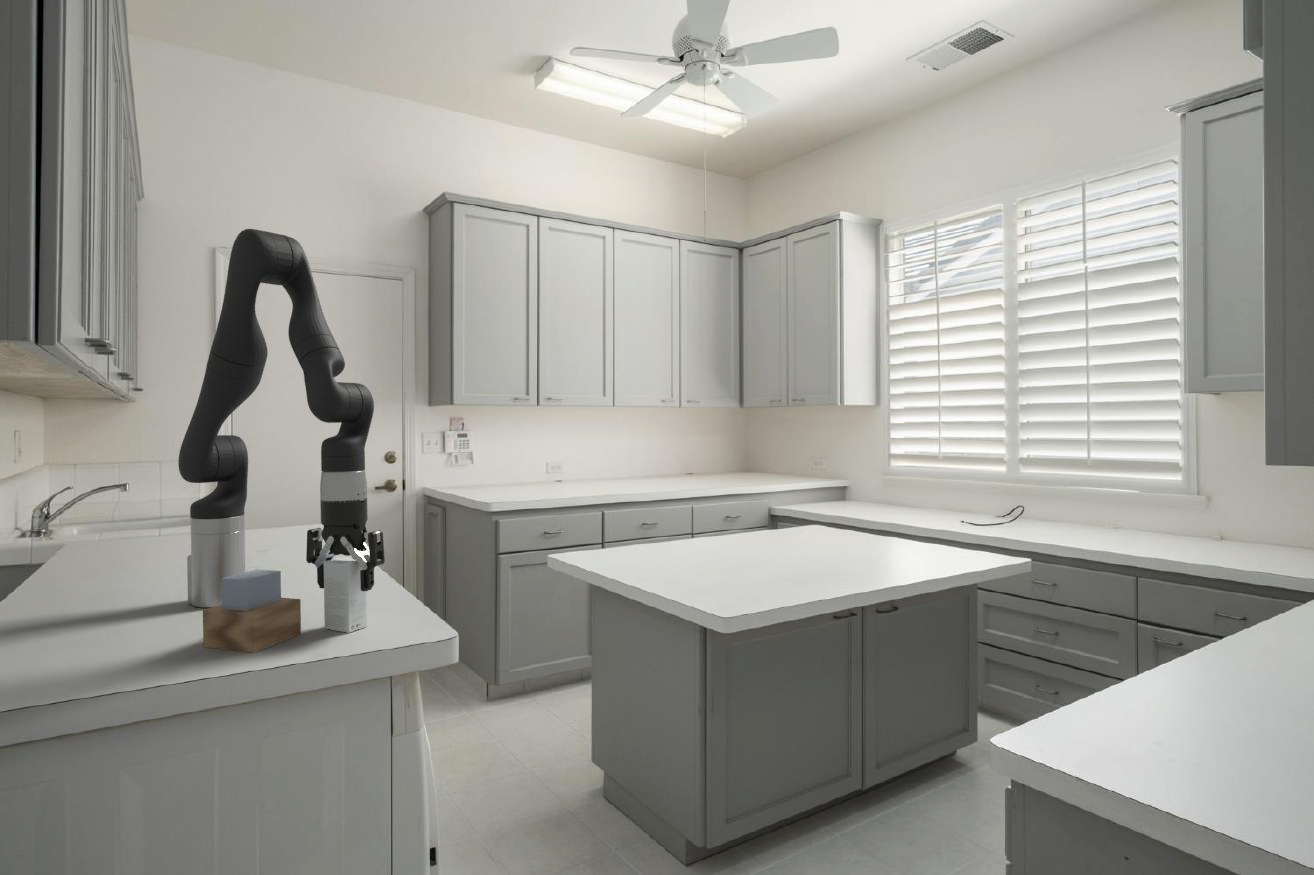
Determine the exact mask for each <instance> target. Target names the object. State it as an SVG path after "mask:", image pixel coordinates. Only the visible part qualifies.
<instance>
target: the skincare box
mask: <svg viewBox="0 0 1314 875" xmlns="http://www.w3.org/2000/svg"><path fill="white" fill-rule="evenodd" d="M360 570H363V569H362V568H361V567H360V565H359V564H358V562H357V561H356V560H354V559H353V558H350V557H338V558H333V559H332V560H328V561H324V588H323V604H324V605H323V609H324V611H323V613H324V615H323V617H324V629H325V630H328V629H330V630H329V631H335V632H341V633H346V634H348V633H349V634H350V633H352V632H356V631H359V630H361V629H365V628H367V627H368V620H367V619H368V614H367V613H368V612H367V611H368V610H367V605H368V604H367V591H361V580H360ZM358 629H359V630H358ZM355 630H356V631H355Z"/></svg>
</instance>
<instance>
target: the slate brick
mask: <svg viewBox="0 0 1314 875" xmlns="http://www.w3.org/2000/svg"><path fill="white" fill-rule="evenodd" d="M281 578H282V574H281V570H274V569H273V570H272V569H258V568H257V569H253V570H248V571H245V572H244V573H240V574H236V575H233V576H229V577H225V578H222V609H230V610H240V611H250V610H253V609H256V608H259V607H262V606H265V605H268V604H271V603H274V602H278V601H281V598H282V582H281V580H282V579H281Z"/></svg>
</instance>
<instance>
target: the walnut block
mask: <svg viewBox="0 0 1314 875" xmlns="http://www.w3.org/2000/svg"><path fill="white" fill-rule="evenodd" d="M301 604H302V603H301V599H300V598H289V597H281V601H278V602H274V603H271V604H268V605H265V606H262V607H259V608H256V609H253V610H250V611H240V610H230V609H222V605H218V606H215V607H207V608H206V609H202V628H203V629H202V632H203V633H202V637H203V639H202V640H203V645H202V646H203V648H209V649H219V650H227V651H235V652H243V653H244V652H247V653H257V652H259V651H262V650H264V649H267V648H270V647H272V646H274V645H273V644H275V645H276V643H277V644H279V643H282V642H285V641H286V640H290V639H292V638H294V636H295V637H296V636H300V635H301V634H302V618H301V617H302V615H301V614H302V612H301ZM291 637H292V638H291ZM289 638H290V639H289ZM284 640H285V641H284Z"/></svg>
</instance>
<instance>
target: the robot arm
mask: <svg viewBox="0 0 1314 875" xmlns="http://www.w3.org/2000/svg"><path fill="white" fill-rule="evenodd" d="M261 284H267V285H268V284H269V285H273V286H274V285H275V286H282V287H283V289H284V290H285V291H286V293H287V295H288V297H289V298H290V300H291V303H292V308H291V309H292V311H291V316H290V319H289V323H288V324H289V325H288V331H287V332H288V340H289V343H290V347H291V349H292V351H293V353H294V355H295V357H296V359H297V361H298V363H299V366H300V367H301V370H302V371H303V372H302V374H303V378H304V380H303V381H304V385H305V394H306V401H307V405H308V408H309V410H310V412H311V414H312V415H313V416H314V417H315V418H317V420H318V421H321V422H323V423H327V424H335V423H340V427H339V429H338V432H337V434H336V435H333V436H330V437H328V438H327V437H326V438H325V439H323V441H322V442H321V445H320V446H321V447H320V459H321V460H320V461H321V462H320V463H321V464H320V465H321V466H320V467H321V468H320V469H321V476H320V482H319V483H320V485H319V491H320V492H319V494H320V496H319V497H320V498H319V499H320V500H319V501H320V504H319V505H320V524H321V525H323V528H322V527H316V528H311V529H308V530H307V532H306V551H305V552H306V555H305V556H306V557H305V560H306V563H308V564H313V565H314V566H315V567H316V578H317V579H316V580H317V581H316V582H317V585H318V588H319V589H324V561H328V560H333V559H335V557H336V556H338V555H339V556H340V555H342V556H349V557H350V556H351V559H354V560H356V561H357V562H358V564H359V565H360V567H361V568H362V569H363V570H360V580H361V591H366V592H368V591H371V590H372V588H373V587H374V585H375V568H376V567H377V566H381V565H384V563H385V560H386V558H385V548H384V533H383V531H382V529H379V530H378V529H377V530H373V531H368V530H367V527H366V525H367V521H368V520H369V519H368V481H367V477H366V452H365V451H366V448H365V447H366V444H367V439H368V436H369V432H370V428H371V424H372V420H373V416H374V412H375V410H374V409H375V404H374V398H373V395H372V393H371V391H370V389H369V388H368V387H367V386H365V384H362V383H357V382H345V381H344V382H341V381H336V380H335V378H336V377H338V376H339V375H340V374H341V373H343V371H344V369H345V366H346V362H345V358H344V356H343V354H342V352H341V349H340V348H339V347H340V346H338V344H337V341H336V339H335V338H334V335H333V333H332V332H331V329H330V327H329V325H328V323H327V320H326V317H325V315H324V312H323V309H322V305H321V302H320V298H319V295H318V289H317V287H316V283H315V281H314V277H313V274H312V270H311V267H310V264H309V261H308V257H307V255H306V253H305V250H304V248H303V246H302V245H301V244H300V242H299V241H298V240H297V239H296V238H293V237H290V236H288V235H285V234H280V233H276V232H271V231H265V230H260V229H254V228H245V229H242V230H241V231H240V232H239V233H238V235H237V236H236V237H235V240H234V241H233V245H232V248H231V251H230V256H229V262H228V269H227V276H226V281H225V289H224V296H223V302H222V305H221V306H222V307H221V311H220V314H219V318H218V323H217V327H216V331H215V334H214V337H213V340H212V345H211V347H210V351H209V355H208V358H207V363H206V366H205V371H204V377H203V381H202V385H201V388H200V392H199V395H198V399H197V403H196V405H195V407H194V411H193V413H192V416H191V418H190V419H191V420H190V421H189V424H188V427H187V429H186V432H185V434H184V437H183V439H182V443H181V445H180V449H179V454H178V470H179V474H180V476H181V477H182V479H183V480H184V481H186V482H188V483H191V484H193V483H194V484H207V483H208V484H209V483H216V486H215V489H214V490H213V491H212V492H210V493H209V494H207V495H206V496H203V497H202V498H200V499H197V500H194V502H192V503H191V504H190V507H189V515H190V516H189V518H190V519H189V520H190V554H188V556H187V557H186V567H187V568H186V570H187V603H188V604H190V605H192V606H193V607H195V608H196V607H197V608H212V607H215V606H218V605H222V578H225V577H229V576H233V575H236V574H240V573H244V572H246V528H245V526H246V525H245V508H246V507H245V506H246V503H247V499H248V474H249V454H248V448H247V445H246V443H245V441H244V439H242V438H241V437H240V436H239V435H234V434H233V435H232V434H228V435H227V434H226V435H225V434H222V435H221V434H220V435H219V432H220V429H222V428H221V427H222V426H223V425H224V422H225V421H226V420H227V419H228V418H229V417H230V416H231V414H232V413H233V412H235V411H236V410H237V409H238V407H239V408H240V406H241V405H242V404H243V403H245V401H247V400H248V399H249V397H250V396H252V394H253V393H254V392H256V390H257V388H258V386H259V385H260V383H261V380H262V377H263V374H264V370H265V367H266V363H267V359H268V353H269V352H268V345H267V342H266V339H265V336H264V332H262V331H263V330H262V328H261V326H260V323H259V320H258V318H257V314H256V302H257V295H258V291H259V288H260V285H261ZM323 542H324V545H323Z"/></svg>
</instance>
